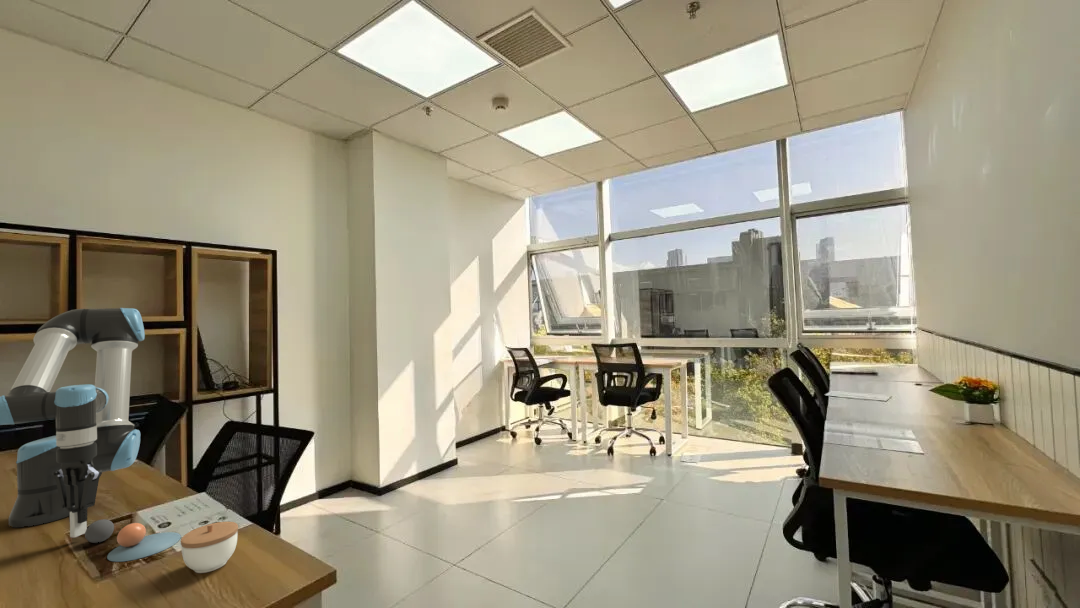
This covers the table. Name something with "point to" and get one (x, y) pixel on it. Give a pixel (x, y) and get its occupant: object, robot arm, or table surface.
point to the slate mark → (145, 547)
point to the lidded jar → (209, 546)
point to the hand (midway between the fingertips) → (78, 534)
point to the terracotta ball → (131, 535)
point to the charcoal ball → (99, 531)
